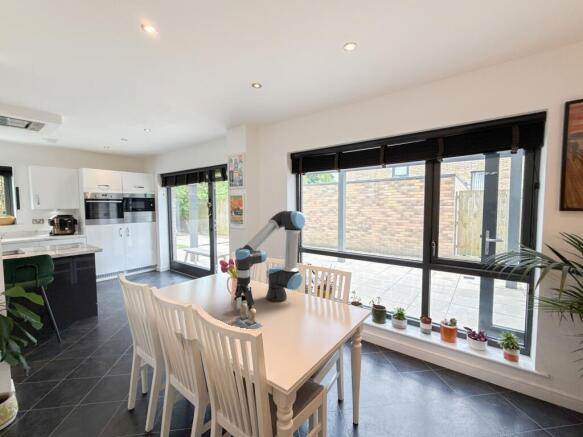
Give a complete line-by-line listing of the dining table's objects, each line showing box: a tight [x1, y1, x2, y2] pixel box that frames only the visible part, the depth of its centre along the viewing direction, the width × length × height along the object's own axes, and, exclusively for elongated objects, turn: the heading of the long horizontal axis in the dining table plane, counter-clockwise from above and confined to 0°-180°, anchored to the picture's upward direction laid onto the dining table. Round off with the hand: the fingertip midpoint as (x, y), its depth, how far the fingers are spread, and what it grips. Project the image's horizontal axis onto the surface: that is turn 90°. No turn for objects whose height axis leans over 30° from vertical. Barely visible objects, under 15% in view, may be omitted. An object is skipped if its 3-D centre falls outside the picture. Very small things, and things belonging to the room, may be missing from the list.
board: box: [232, 315, 264, 330], centre depth 149 cm, size 12×16×3 cm
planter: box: [232, 294, 247, 316], centre depth 165 cm, size 11×11×10 cm
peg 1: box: [240, 304, 248, 321], centre depth 152 cm, size 4×4×10 cm
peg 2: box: [247, 307, 257, 326], centre depth 144 cm, size 4×4×10 cm
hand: (244, 311), depth 152 cm, fingers open, 13 cm apart
